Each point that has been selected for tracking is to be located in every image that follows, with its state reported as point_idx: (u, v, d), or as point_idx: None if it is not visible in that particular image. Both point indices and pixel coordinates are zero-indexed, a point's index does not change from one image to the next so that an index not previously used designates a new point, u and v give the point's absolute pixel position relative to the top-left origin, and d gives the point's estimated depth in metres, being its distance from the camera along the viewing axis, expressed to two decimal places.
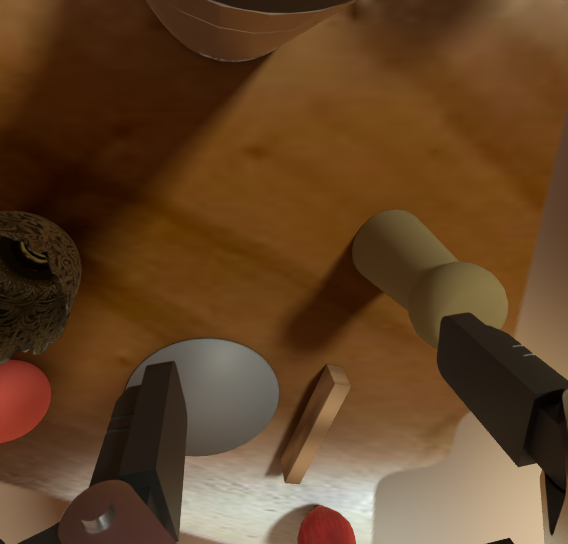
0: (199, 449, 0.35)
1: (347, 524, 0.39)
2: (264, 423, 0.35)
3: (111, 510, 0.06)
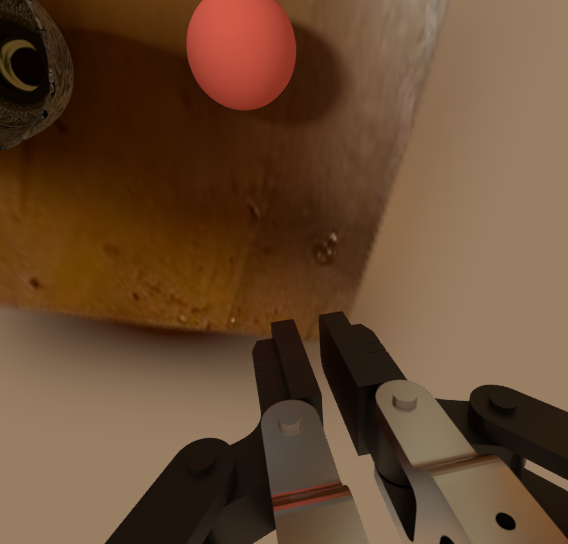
0: None
1: None
2: None
3: (299, 425, 0.08)
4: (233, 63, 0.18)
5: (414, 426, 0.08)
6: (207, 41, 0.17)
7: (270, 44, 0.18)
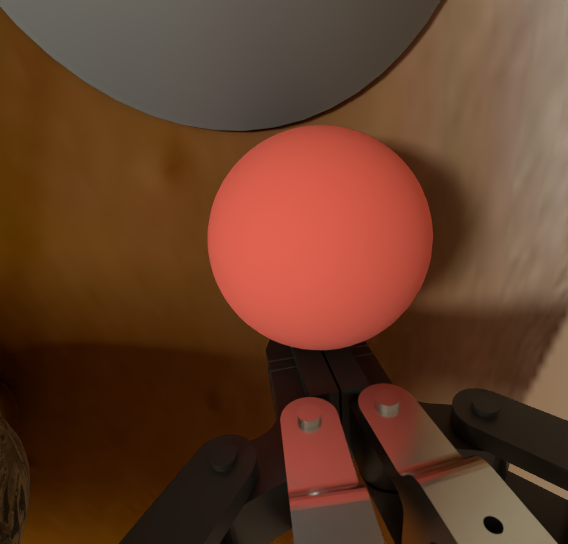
0: None
1: None
2: None
3: (318, 422, 0.08)
4: (312, 155, 0.08)
5: (398, 430, 0.07)
6: (250, 161, 0.08)
7: (376, 140, 0.09)
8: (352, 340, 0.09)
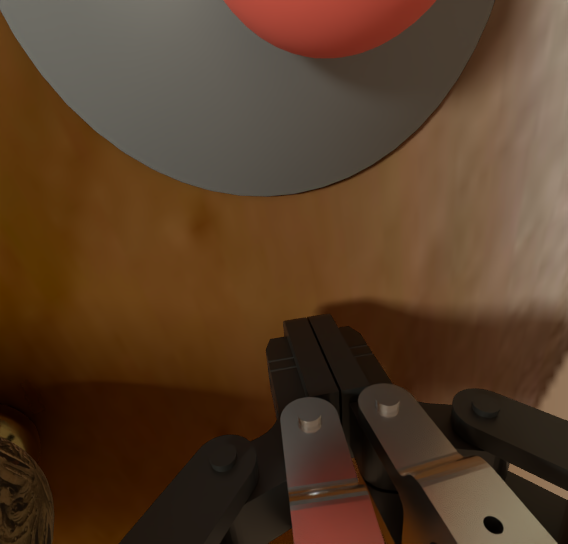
0: None
1: None
2: None
3: (318, 422, 0.08)
4: None
5: (398, 430, 0.07)
6: (258, 35, 0.08)
7: None
8: None
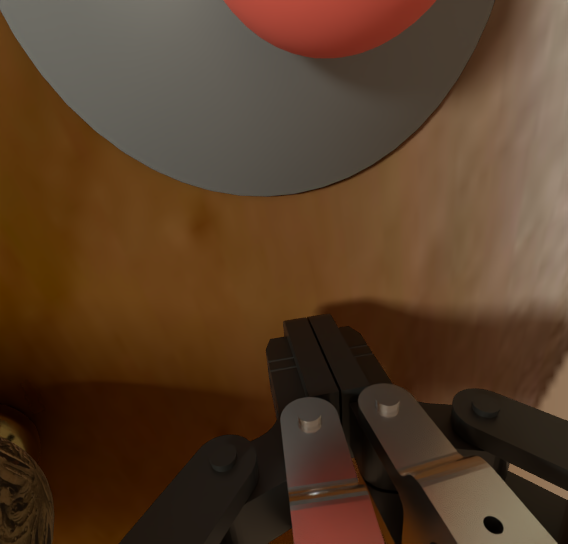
0: None
1: None
2: None
3: (318, 422, 0.08)
4: None
5: (398, 430, 0.07)
6: (258, 35, 0.08)
7: None
8: None
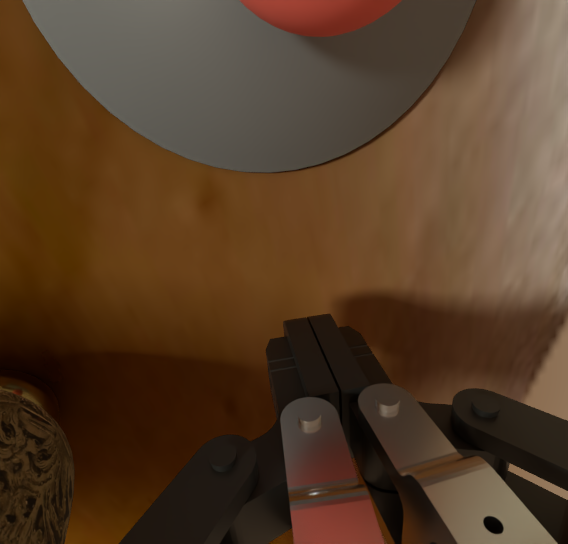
0: None
1: None
2: None
3: (318, 422, 0.08)
4: None
5: (398, 431, 0.07)
6: (258, 16, 0.09)
7: None
8: None
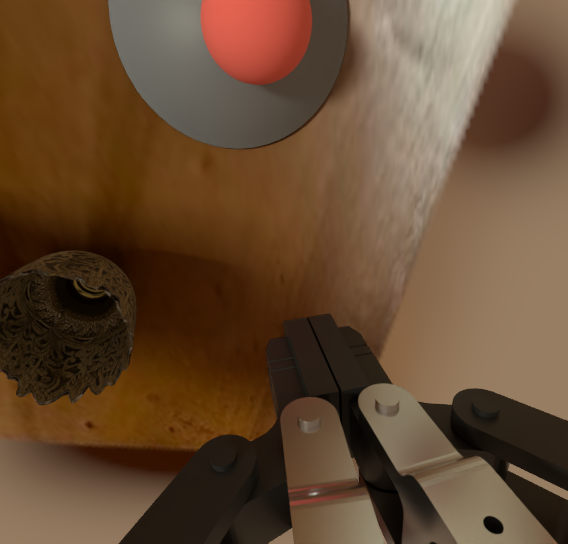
0: None
1: None
2: None
3: (318, 422, 0.08)
4: None
5: (398, 430, 0.07)
6: None
7: None
8: None
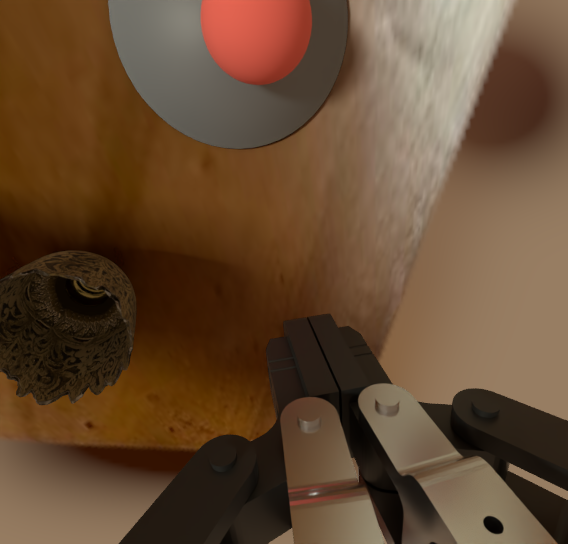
0: None
1: None
2: None
3: (318, 422, 0.08)
4: None
5: (398, 431, 0.07)
6: None
7: None
8: None
